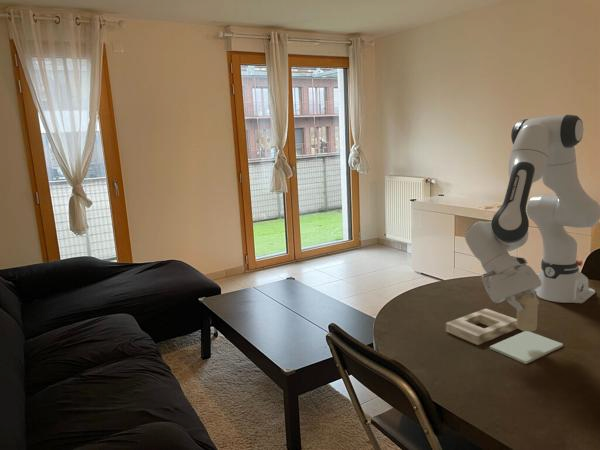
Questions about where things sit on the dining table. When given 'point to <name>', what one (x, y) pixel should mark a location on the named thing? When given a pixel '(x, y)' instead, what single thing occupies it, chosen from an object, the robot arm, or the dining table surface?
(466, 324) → the socket block
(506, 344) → the sage mat
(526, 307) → the candle
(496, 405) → the dining table surface
